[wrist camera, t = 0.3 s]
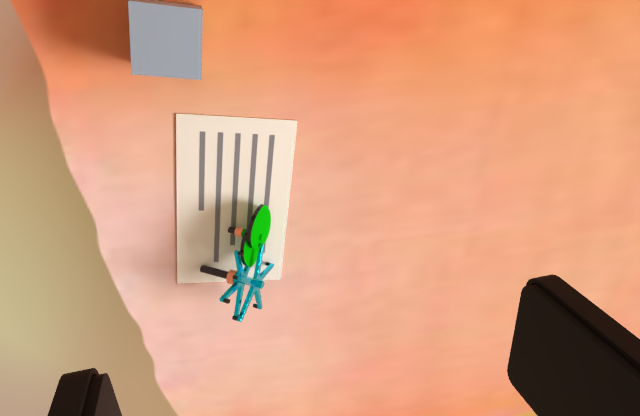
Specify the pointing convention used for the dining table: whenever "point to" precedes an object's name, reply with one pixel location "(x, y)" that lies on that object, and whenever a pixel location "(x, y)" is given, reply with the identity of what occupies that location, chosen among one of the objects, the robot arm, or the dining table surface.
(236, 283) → the stick construction toy
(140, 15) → the cube
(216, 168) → the letter
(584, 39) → the dining table surface
